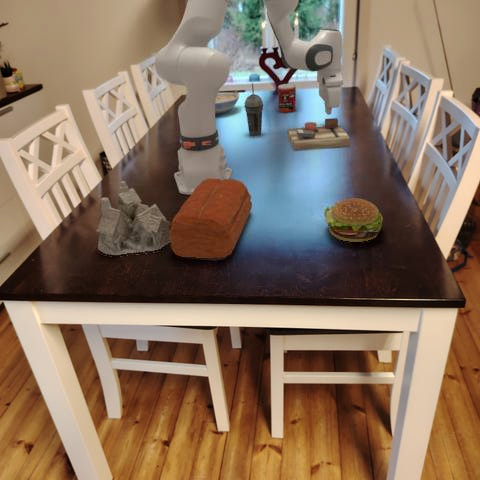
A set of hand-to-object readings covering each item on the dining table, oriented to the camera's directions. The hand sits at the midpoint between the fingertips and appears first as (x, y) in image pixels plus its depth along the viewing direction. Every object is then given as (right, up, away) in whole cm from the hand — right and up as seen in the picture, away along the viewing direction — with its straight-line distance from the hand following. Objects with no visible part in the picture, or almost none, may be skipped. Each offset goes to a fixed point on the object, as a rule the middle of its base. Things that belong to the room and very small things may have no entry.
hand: (328, 113), depth 178 cm
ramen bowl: (-45, +11, +38) cm, 60 cm away
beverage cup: (-28, -7, +6) cm, 29 cm away
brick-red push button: (-8, -7, -5) cm, 11 cm away
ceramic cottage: (-60, -50, -62) cm, 99 cm away
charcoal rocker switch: (-10, -10, -11) cm, 18 cm away
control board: (-5, -12, -6) cm, 14 cm away
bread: (-40, -47, -60) cm, 86 cm away
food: (-7, -47, -64) cm, 79 cm away
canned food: (-12, +10, +33) cm, 36 cm away
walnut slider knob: (0, -6, -4) cm, 7 cm away
